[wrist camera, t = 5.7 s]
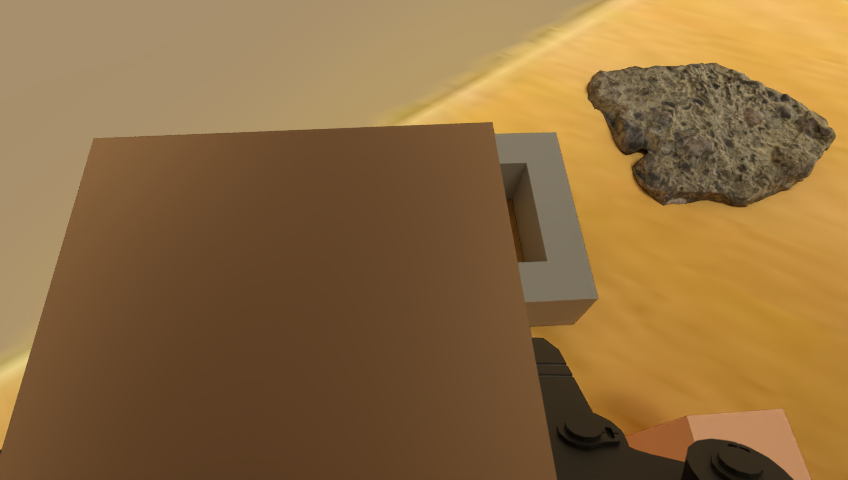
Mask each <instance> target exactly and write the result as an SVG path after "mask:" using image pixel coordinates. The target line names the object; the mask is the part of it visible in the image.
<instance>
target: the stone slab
mask: <svg viewBox="0 0 848 480" xmlns="http://www.w3.org/2000/svg"><path fill="white" fill-rule="evenodd" d="M588 93H589V94H588V100H589V101H590V102H591V103H592V105H593V107H594V109H598V110H600V111H601V112H602V113H603V115H604V117H605V119H606V121H607V123H608V125H609V127H610V129H611V131H612V134H613V138H614V140H615V142H616V143H617V145H618V147H619V148H620V150H621V151H623V152H625V153H626V154H628V153H633V152H636V151H638V150H640V149H645V150H648V153H647V154H646V155H645V156H644V157H642V158H641V160H640V161H638V162H637V163H636V164H635V165H634V166H633V171H634V172H633V174H634V176H635V177H636V180H637V182H638V184H639V185H640V186H641V188H643V189H645V190H646V191H647V192H648V193H649V195H650V196H651V197H653V198H654V199H655V200H657V201H658V202H659V203H660V204H662V205H663V206H664V205H668V204H686V203H692V202H696V201H701V200H710V201H714V202H724V203H728V204H730V205H733V206H747V205H748V204H752V203H754V202H757V201H760V200H762V199H764V198H766V197H768V196H771V195H774V194H776V193H778V192H780V191H781V190H789V189H790V188H791V187H792V185H793V184H794V183H795V182H800V181H803V179H804V178H806V177H808V176H809V175H810V174H811V172H812V170H813V167H814V165H815V163H816V161H817V160H818V159H820V158H821V156H822V155H823V152H824V151H825V150H828V148H829V147H830V145H831V144H832V142H833V141H834V139H835V138H836V134H835V132H834V130H833V129H832V128H830V127H828V123H827V120H826V119H825V118H823V117H821V116H820V115H818V114H817V113H815V112H813V111H811V110H809V109H808V108H807V107H805V106H804V105H803V104H802V103H800V102H798V101H796V100H795V99H793V98H791V97H790V96H789V95H787V94H782V93H780V92H778V91H776V90H774V89H771V88H768V87H765V86H764V85H763V84H762V83H761V82H759V81H753V80H750V79H749V77H748V76H746V75H745V74H743V73H740V72H738V71H735V70H732V69H728V68H725V67H723V66H721V65H719V64H717V63H708V64H703V63H700V64H689V65H687V66H683V65H681V66H652V67H650V68H640V67H637V66H634V67H628V68H626V69H622V70H616V71H609V72H605V71H601V70H600V71H599V72H597V73H596V74H595V75H594V76H593V79H592V80H591V81H590V82H589V83H588ZM611 122H612V123H611Z"/></svg>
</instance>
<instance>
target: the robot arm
mask: <svg viewBox="0 0 848 480" xmlns="http://www.w3.org/2000/svg"><path fill="white" fill-rule="evenodd" d="M532 344H533V349H534V355H535V360H536V366H537V371H538V377H539V382H540V388H541V393H542V399H543V404H544V410H545V415H546V421H547V426H548V432H549V437H550V443H551V449H552V454H553V460H554V465H555V471H556V476H557V480H794V479H793V478H792V477H791V476H790V475H789V474H788V473H787V472H786V471H785V470H784V469H782V468H781V467H780V466H779V465H777V464H776V463H775V462H774V461H772V460H771V459H770V458H769V457H767V456H765V455H763V454H761V453H759V452H758V451H756V450H754V449H752V448H750V447H748V446H745V445H743V444H738V443H737V442H732V441H728V440H720V439H712V438H710V439H704V440H697V441H695V442H694V443H693V444H691V445H690V446H688V449H687V454H686V458H685V462H683V461H679V460H675V459H670V458H666V457H662V456H657V455H653V454H649V453H646V452H642V451H639V450H636V449H634V448H631V447H629V444H628V441H627V439H626V438H625V436H624V434H623V432H622V431H621V430H620V429H619V428H618V427H617V426H616V425H614V424H613V423H612V422H611V421H609V420H607V419H605V418H603V417H601V416H599V415H597V414H595V413H593V412H592V410H591V409H590V407H589V405H588V403H587V401H586V399H585V397H584V396H583V394H582V392H581V390H580V388H579V386H578V384H577V383H576V381H575V379H574V377H572V373H571V371H570V370H569V368H568V366H566V362H565V360H564V358H563V357H562V355H561V353H560V351H559V349H557V348H556V347H555V346H553V345H552V344H551V343H549V342H548V341H547V340H545V339H544V338H532ZM1 451H2V450H0V454H1Z"/></svg>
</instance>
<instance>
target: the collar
mask: <svg viewBox="0 0 848 480" xmlns="http://www.w3.org/2000/svg"><path fill="white" fill-rule="evenodd" d="M495 140H496V145H497V151H498V156H499V162H500V167H501V173H502V178H503V184H504V189H505V195H506V200H513V205H514V210H515V215H516V221H517V226H518V231H519V237H520V242H521V247H522V253H523V258H524V262H518V266H519V272H520V278H521V283H522V289H523V294H524V300H525V305H526V311H527V316H528V322H529V327H531V326H548V325H566V324H574V323H575V322H576V321H577V320H578V319H579V318H580V317H581V316H582V315H583V314H584V313H585V312H586V311H587V310H588V309H589V308H590V307H591V306H592V304H593V303H594V302H595V301H596V300H597V299H598V295H597V292H596V288H595V284H594V280H593V276H592V272H591V268H590V264H589V260H588V256H587V252H586V248H585V245H584V241H583V237H582V233H581V229H580V225H579V221H578V217H577V213H576V209H575V205H574V201H573V197H572V194H571V190H570V186H569V182H568V178H567V174H566V170H565V166H564V162H563V158H562V154H561V150H560V147H559V143H558V139H557V135H556V132H554V133H511V134H495Z"/></svg>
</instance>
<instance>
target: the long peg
mask: <svg viewBox="0 0 848 480" xmlns="http://www.w3.org/2000/svg"><path fill="white" fill-rule="evenodd" d="M0 480H557V476H556V471H555V465H554V460H553V454H552V449H551V443H550V437H549V432H548V426H547V421H546V415H545V410H544V404H543V399H542V393H541V388H540V382H539V377H538V371H537V366H536V360H535V355H534V349H533V344H532V338H531V333H530V327H529V322H528V316H527V311H526V305H525V300H524V294H523V289H522V283H521V278H520V272H519V266H518V261H517V255H516V250H515V244H514V239H513V233H512V228H511V222H510V217H509V211H508V206H507V200H506V195H505V189H504V184H503V178H502V173H501V167H500V162H499V156H498V151H497V145H496V140H495V134H494V129H493V123H492V122H486V123H461V124H437V125H412V126H387V127H362V128H339V129H313V130H288V131H267V132H266V131H265V132H241V133H240V132H239V133H216V134H190V135H165V136H140V137H117V138H116V137H115V138H94V139H93V142H92V146H91V149H90V152H89V156H88V159H87V163H86V166H85V169H84V173H83V176H82V180H81V183H80V186H79V190H78V193H77V196H76V200H75V203H74V207H73V210H72V214H71V217H70V220H69V224H68V227H67V230H66V234H65V237H64V241H63V244H62V247H61V251H60V254H59V257H58V261H57V265H56V268H55V271H54V274H53V278H52V281H51V285H50V288H49V291H48V295H47V298H46V302H45V305H44V308H43V312H42V315H41V318H40V322H39V325H38V329H37V332H36V335H35V339H34V342H33V346H32V349H31V352H30V356H29V359H28V363H27V366H26V369H25V373H24V376H23V379H22V383H21V386H20V390H19V393H18V396H17V400H16V403H15V407H14V410H13V413H12V417H11V420H10V424H9V427H8V430H7V434H6V437H5V440H4V444H3V447H2V451H1V454H0Z"/></svg>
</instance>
